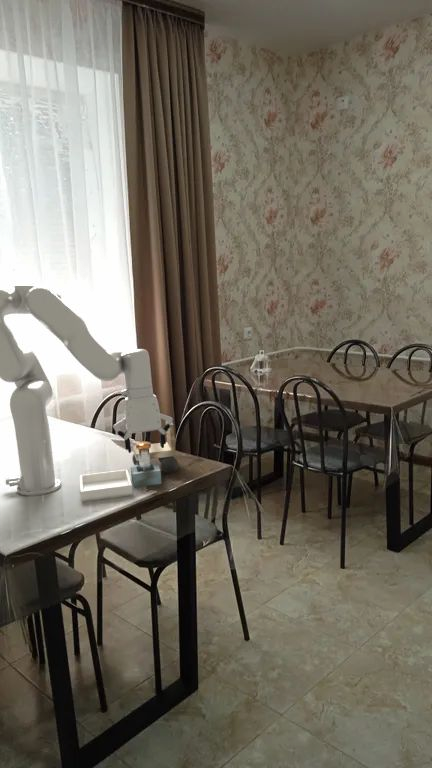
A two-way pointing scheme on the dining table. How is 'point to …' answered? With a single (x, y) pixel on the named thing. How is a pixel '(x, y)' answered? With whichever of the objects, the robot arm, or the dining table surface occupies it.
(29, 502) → the dining table surface
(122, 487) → the tray
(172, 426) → the trolley
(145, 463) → the stop pin
